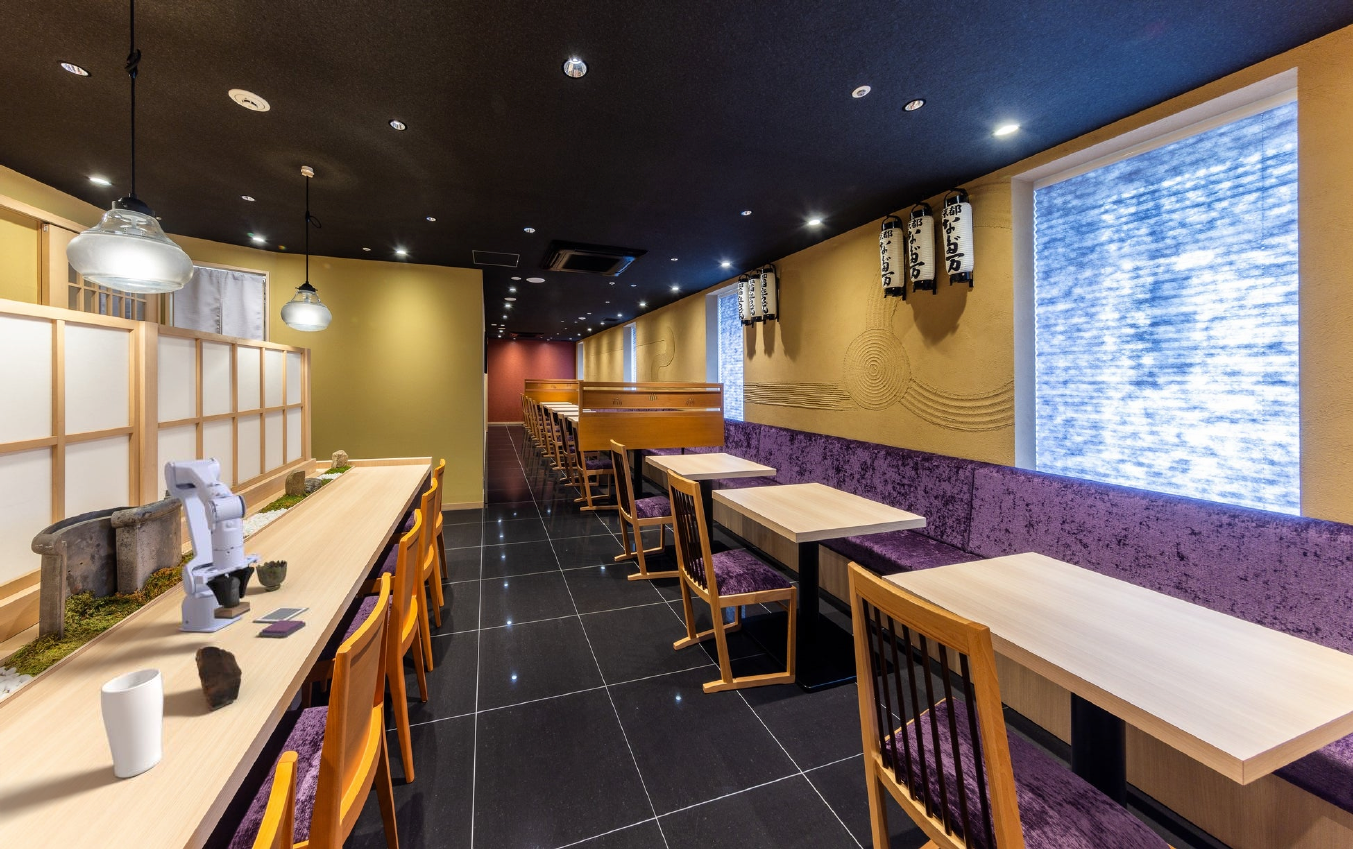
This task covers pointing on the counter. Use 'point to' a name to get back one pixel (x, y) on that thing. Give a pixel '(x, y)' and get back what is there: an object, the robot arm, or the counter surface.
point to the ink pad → (282, 628)
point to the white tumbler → (134, 720)
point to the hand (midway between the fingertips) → (231, 601)
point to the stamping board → (281, 614)
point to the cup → (272, 574)
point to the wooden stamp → (232, 604)
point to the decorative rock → (218, 676)
